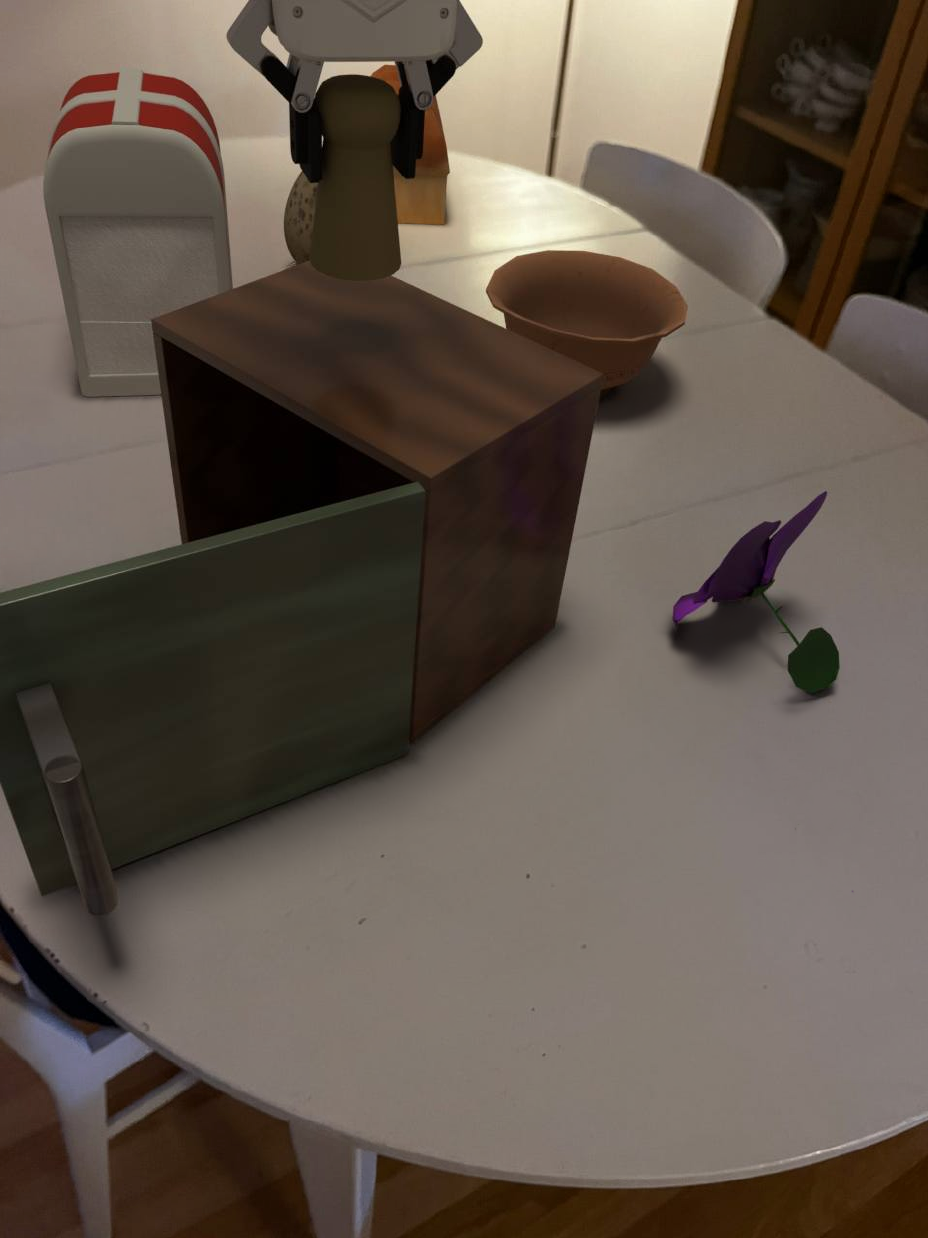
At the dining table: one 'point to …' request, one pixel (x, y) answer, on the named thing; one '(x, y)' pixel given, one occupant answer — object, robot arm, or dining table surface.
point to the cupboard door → (205, 683)
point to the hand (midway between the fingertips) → (357, 169)
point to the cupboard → (388, 447)
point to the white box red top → (133, 219)
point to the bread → (422, 167)
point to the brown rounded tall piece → (356, 180)
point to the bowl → (589, 308)
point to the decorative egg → (300, 218)
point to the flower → (751, 577)
